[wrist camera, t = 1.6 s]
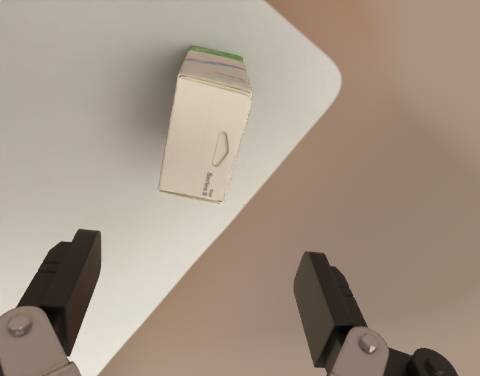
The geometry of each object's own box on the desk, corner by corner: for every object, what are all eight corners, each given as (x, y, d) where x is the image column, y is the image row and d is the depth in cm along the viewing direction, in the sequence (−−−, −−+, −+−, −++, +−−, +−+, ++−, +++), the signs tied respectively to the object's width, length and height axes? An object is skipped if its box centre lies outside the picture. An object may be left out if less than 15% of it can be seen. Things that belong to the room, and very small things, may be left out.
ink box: (222, 142, 36) (228, 208, 25) (171, 132, 35) (156, 196, 24) (244, 55, 31) (261, 92, 21) (186, 41, 30) (176, 72, 20)
